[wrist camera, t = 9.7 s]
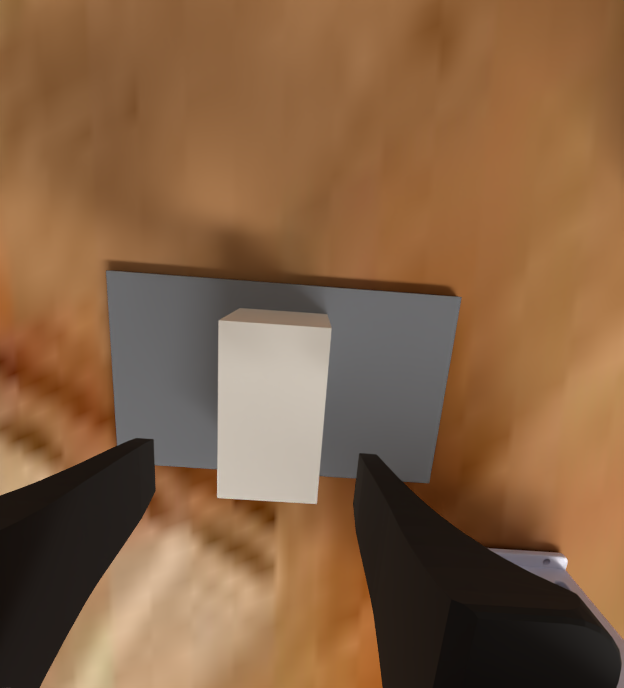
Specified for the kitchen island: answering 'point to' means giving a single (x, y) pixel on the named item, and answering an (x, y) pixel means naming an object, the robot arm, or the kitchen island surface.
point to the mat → (343, 371)
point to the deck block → (271, 404)
